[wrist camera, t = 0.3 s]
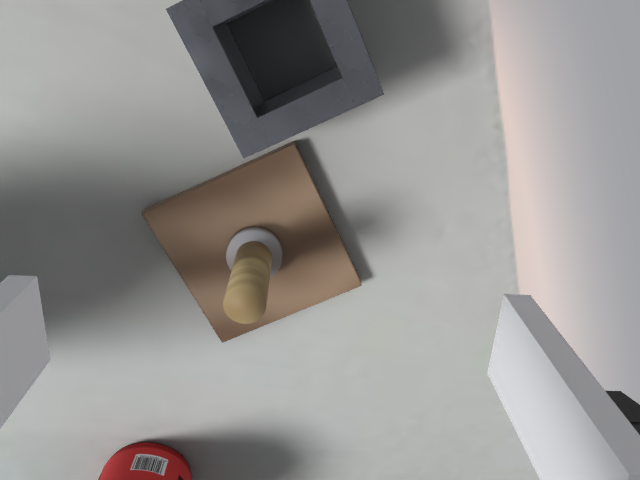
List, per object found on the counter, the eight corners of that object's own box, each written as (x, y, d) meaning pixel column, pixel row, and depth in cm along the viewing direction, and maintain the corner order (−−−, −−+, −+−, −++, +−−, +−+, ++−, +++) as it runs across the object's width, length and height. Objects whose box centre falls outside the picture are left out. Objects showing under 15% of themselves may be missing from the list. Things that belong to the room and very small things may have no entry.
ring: (187, 8, 35) (165, 9, 29) (316, -58, 34) (319, -70, 28) (252, 136, 38) (243, 158, 33) (372, 80, 37) (384, 94, 32)
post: (145, 208, 40) (104, 261, 32) (294, 140, 38) (291, 178, 30) (223, 335, 45) (205, 411, 36) (360, 279, 43) (373, 345, 35)
